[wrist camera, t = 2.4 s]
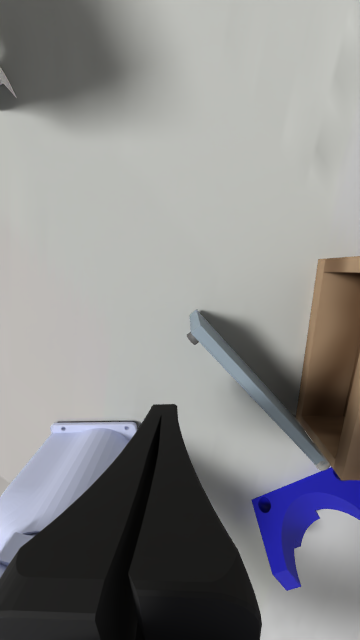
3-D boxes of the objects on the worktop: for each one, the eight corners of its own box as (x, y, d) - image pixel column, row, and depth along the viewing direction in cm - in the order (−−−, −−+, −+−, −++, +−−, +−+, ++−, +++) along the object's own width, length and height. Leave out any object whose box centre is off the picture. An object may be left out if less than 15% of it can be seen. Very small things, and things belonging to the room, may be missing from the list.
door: (282, 427, 19) (313, 476, 15) (183, 321, 17) (181, 340, 12) (297, 418, 19) (332, 466, 14) (197, 308, 16) (201, 324, 12)
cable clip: (267, 519, 24) (293, 598, 18) (251, 498, 23) (272, 574, 17) (359, 484, 22) (421, 560, 16) (345, 459, 21) (405, 531, 15)
